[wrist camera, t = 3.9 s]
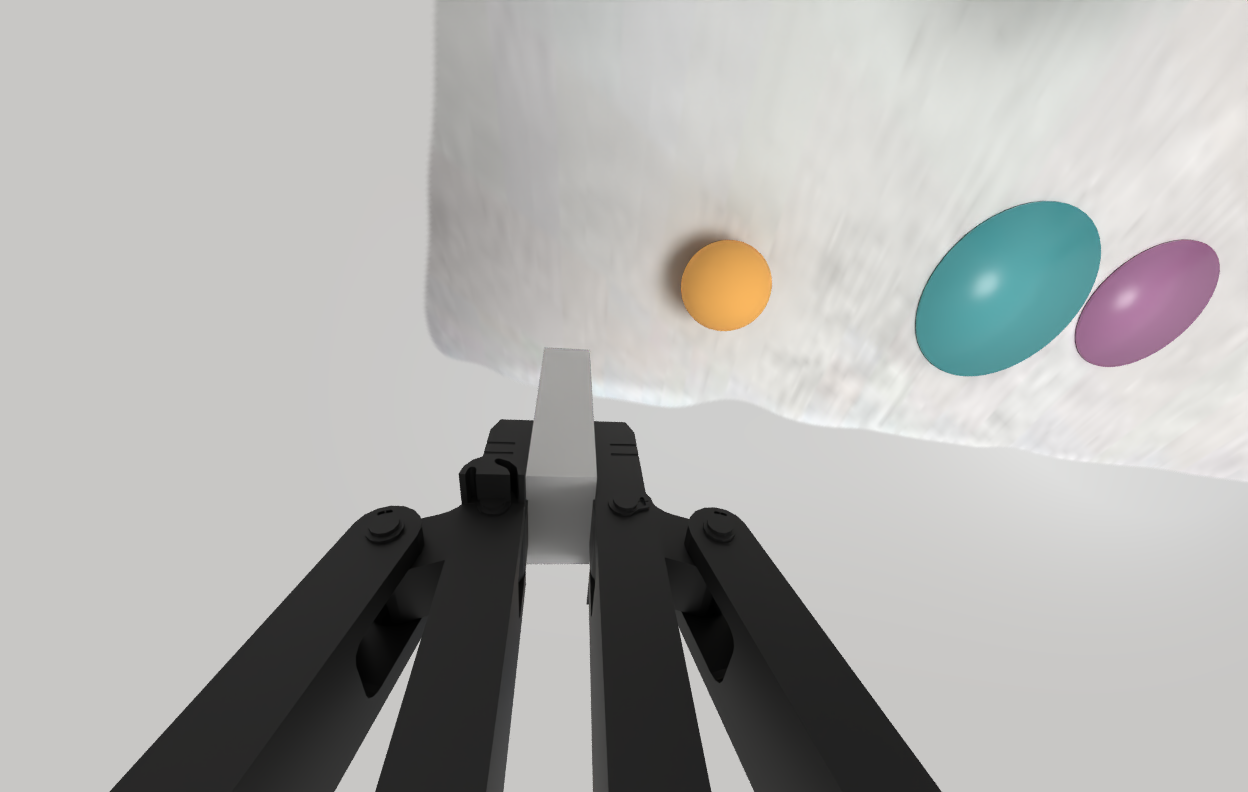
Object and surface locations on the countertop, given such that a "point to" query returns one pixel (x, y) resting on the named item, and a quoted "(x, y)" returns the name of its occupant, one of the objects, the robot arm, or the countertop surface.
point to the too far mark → (1147, 303)
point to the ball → (726, 285)
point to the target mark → (1008, 288)
